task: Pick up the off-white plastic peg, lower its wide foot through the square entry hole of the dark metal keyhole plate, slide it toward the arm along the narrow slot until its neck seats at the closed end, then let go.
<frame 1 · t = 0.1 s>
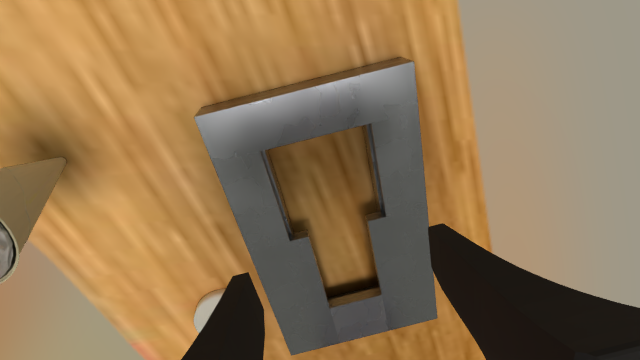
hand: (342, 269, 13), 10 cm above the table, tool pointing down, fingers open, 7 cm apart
keyhole plate: (335, 220, 24), on the table
peg: (228, 312, 27), on the table
ice cream cone: (63, 159, 20), on the table
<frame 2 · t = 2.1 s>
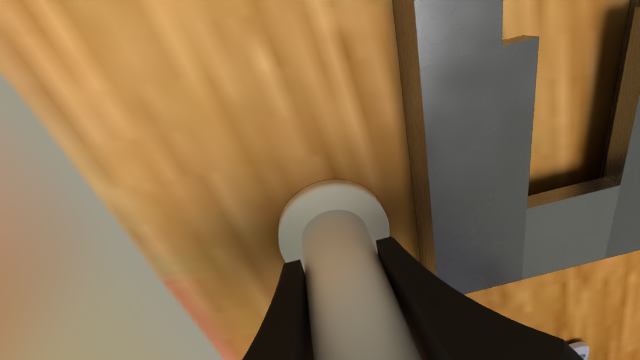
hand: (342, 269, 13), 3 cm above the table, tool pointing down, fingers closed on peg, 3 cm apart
keyhole plate: (550, 41, 13), on the table
peg: (332, 227, 16), on the table, touching gripper
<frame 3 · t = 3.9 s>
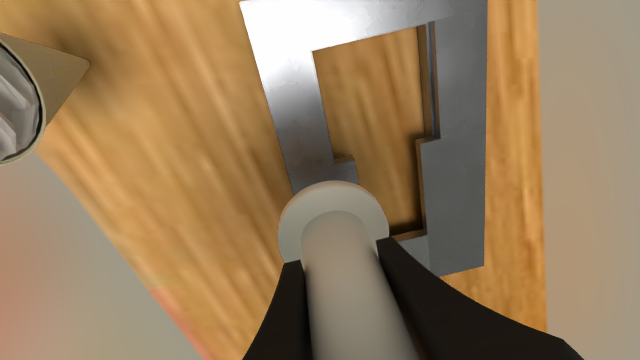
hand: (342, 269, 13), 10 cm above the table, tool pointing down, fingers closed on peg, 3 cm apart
keyhole plate: (379, 150, 22), on the table
peg: (331, 228, 16), point 7 cm above the table, touching gripper
ice cream cone: (87, 62, 18), on the table
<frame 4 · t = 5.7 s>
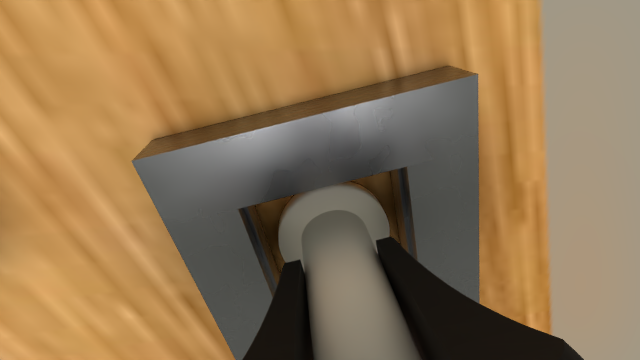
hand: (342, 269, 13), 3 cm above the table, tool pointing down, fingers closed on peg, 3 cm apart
keyhole plate: (347, 287, 18), on the table
peg: (332, 227, 16), on the table, touching gripper
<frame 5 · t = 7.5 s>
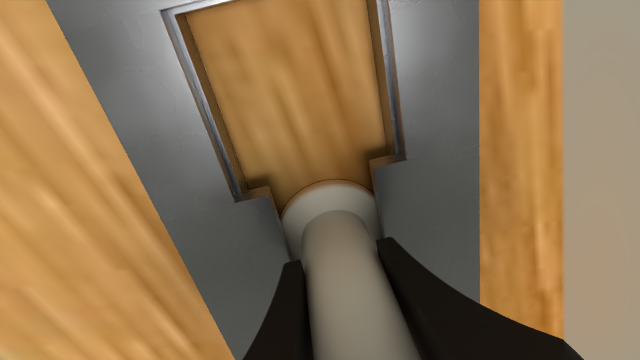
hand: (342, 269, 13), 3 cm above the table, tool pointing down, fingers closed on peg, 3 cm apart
keyhole plate: (319, 175, 15), on the table
peg: (332, 227, 16), on the table, touching gripper
when the fingers open (3 cm above the table, at t = 9.1 s): peg stays where it is, on the table.
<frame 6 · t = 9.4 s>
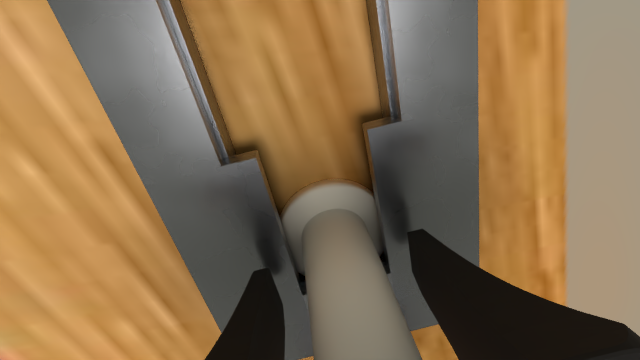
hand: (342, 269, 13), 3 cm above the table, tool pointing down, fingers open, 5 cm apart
keyhole plate: (311, 143, 14), on the table
peg: (331, 226, 16), on the table
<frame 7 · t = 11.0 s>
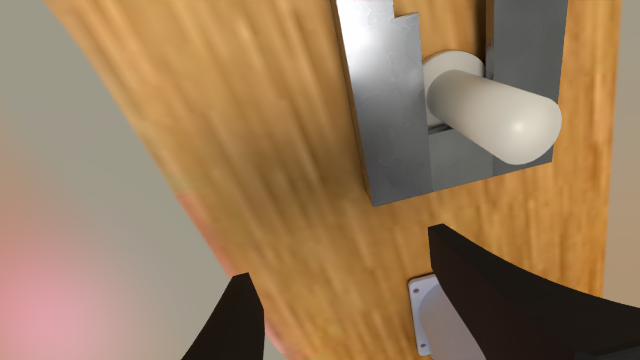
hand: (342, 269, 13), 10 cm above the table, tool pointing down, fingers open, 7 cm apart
keyhole plate: (439, 18, 19), on the table
peg: (443, 92, 21), on the table
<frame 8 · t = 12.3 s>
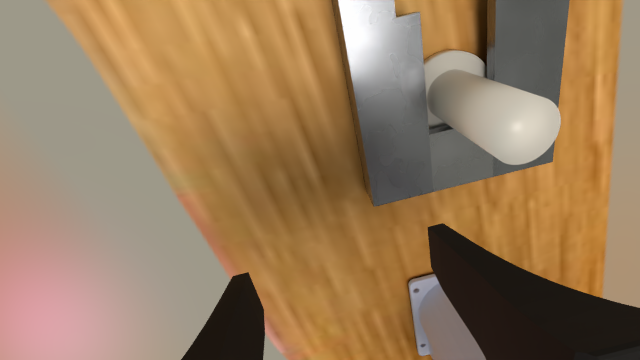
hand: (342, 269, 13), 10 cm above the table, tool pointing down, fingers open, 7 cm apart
keyhole plate: (440, 17, 19), on the table
peg: (444, 91, 21), on the table
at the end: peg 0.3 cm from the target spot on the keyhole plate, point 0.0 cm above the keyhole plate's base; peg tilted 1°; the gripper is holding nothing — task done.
